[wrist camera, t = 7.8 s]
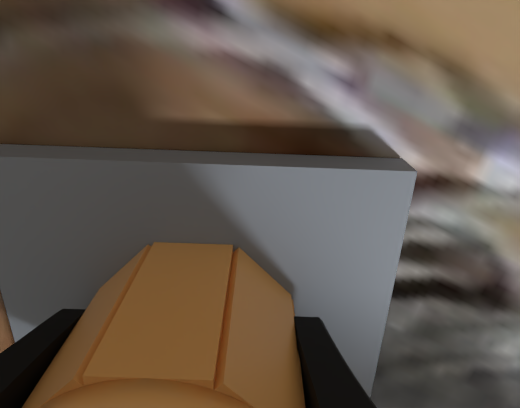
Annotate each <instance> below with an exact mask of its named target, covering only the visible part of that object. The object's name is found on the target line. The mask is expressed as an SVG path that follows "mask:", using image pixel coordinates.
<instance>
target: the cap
mask: <svg viewBox="0 0 520 408" xmlns="http://www.w3.org/2000/svg"><path fill="white" fill-rule="evenodd" d="M294 316H295V312H294V304H293V300H292V299H291V294H290V293H289V292H287V291H286V290H285V289H284V288H283V287H282V286H281V285H280V284H279V283H278V282H277V281H276V280H274V279H273V278H272V277H271V276H270V275H269V274H268V273H267V272H266V271H265V270H264V269H262V268H261V267H260V266H259V265H258V264H257V263H256V262H255V261H254V260H253V259H252V258H250V257H249V256H248V255H247V254H246V253H245V252H244V251H243V250H242V249H241V248H240V247H239V248H237V249H236V250H235V251H234V252H233V245H228V244H198V243H167V242H154V243H153V245H152V247H151V246H150V245H149V244H148V245H146V246H145V247H144V248H143V249H142V250H141V251H140V252H139V253H138V254H137V255H136V256H134V257H133V258H132V259H131V260H130V261H129V262H128V263H127V264H126V265H125V266H124V267H122V268H121V269H120V270H119V271H118V272H117V273H116V274H115V275H114V276H113V277H112V278H110V279H109V280H108V281H107V282H106V283H105V284H104V285H103V286H102V287H101V288H100V289H99V290H98V292H97V293H96V295H95V296H94V298H93V299H92V301H91V302H90V304H89V305H88V307H87V308H86V310H85V312H84V313H83V315H82V316H81V318H80V319H79V321H78V322H77V324H76V325H75V327H74V328H73V330H72V331H71V333H70V335H69V336H68V338H67V339H66V341H65V342H64V344H63V345H62V347H61V348H60V350H59V351H58V353H57V354H56V356H55V357H54V359H53V361H52V362H51V364H50V365H49V367H48V368H47V370H46V371H45V373H44V374H43V376H42V377H41V379H40V380H39V382H38V384H37V385H36V387H35V388H34V390H33V391H32V393H31V394H30V396H29V397H28V399H27V400H26V402H25V403H24V405H23V407H22V408H305V400H304V391H303V382H302V374H301V365H300V358H299V354H298V349H297V341H296V332H295V323H294Z"/></svg>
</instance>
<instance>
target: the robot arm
mask: <svg viewBox="0 0 520 408" xmlns="http://www.w3.org/2000/svg"><path fill="white" fill-rule="evenodd" d="M85 310H86V309H61V310H60V311H58V312H57V313H55V314H54V315H52V316H51V317H50V318H48V319H47V320H45V321H44V322H43V323H41V324H40V325H39V326H37V327H36V328H34V329H33V330H32V331H30V332H29V333H28V334H26V335H25V336H24V337H22V338H21V339H20V340H18V341H17V342H15V343H14V344H13V345H11V346H10V347H9V348H7V349H6V350H4V351H3V352H2V353H0V408H22V407H23V405H24V403H25V402H26V400H27V399H28V397H29V396H30V394H31V393H32V391H33V390H34V388H35V387H36V385H37V384H38V382H39V380H40V379H41V377H42V376H43V374H44V373H45V371H46V370H47V368H48V367H49V365H50V364H51V362H52V361H53V359H54V357H55V356H56V354H57V353H58V351H59V350H60V348H61V347H62V345H63V344H64V342H65V341H66V339H67V338H68V336H69V335H70V333H71V331H72V330H73V328H74V327H75V325H76V324H77V322H78V321H79V319H80V318H81V316H82V315H83V313H84V312H85ZM294 323H295V332H296V341H297V349H298V354H299V358H300V365H301V374H302V382H303V391H304V400H305V408H376V406H375V405H374V403H373V402H372V401H371V399H370V398H369V396H368V395H367V393H366V392H365V391H364V389H363V388H362V386H361V385H360V383H359V382H358V380H357V379H356V377H355V376H354V374H353V373H352V371H351V370H350V368H349V366H348V365H347V363H346V362H345V360H344V358H343V357H342V355H341V353H340V352H339V350H338V348H337V347H336V345H335V343H334V341H333V340H332V338H331V336H330V334H329V332H328V331H327V329H326V327H325V325H324V323H323V321H322V320H321V319H320V318H319V317H299V316H294Z"/></svg>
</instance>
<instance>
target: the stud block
mask: <svg viewBox="0 0 520 408" xmlns="http://www.w3.org/2000/svg"><path fill="white" fill-rule="evenodd" d="M416 175H417V171H416V170H415V169H414V168H413V167H411V166H410V165H409V164H408V163H407V162H406V161H405V160H403V159H402V158H375V157H347V156H319V155H292V154H264V153H236V152H209V151H181V150H154V149H126V148H98V147H71V146H43V145H15V144H0V290H1V294H2V297H3V301H4V305H5V308H6V312H7V315H8V319H9V322H10V326H11V330H12V333H13V337H14V340H15V342H17V341H18V340H20V339H21V338H22V337H24V336H25V335H26V334H28V333H29V332H30V331H32V330H33V329H34V328H36V327H37V326H39V325H40V324H41V323H43V322H44V321H45V320H47V319H48V318H50V317H51V316H52V315H54V314H55V313H57V312H58V311H60V310H61V309H86V308H87V307H88V305H89V304H90V302H91V301H92V299H93V298H94V296H95V295H96V293H97V292H98V290H99V289H100V288H101V287H102V286H103V285H104V284H105V283H106V282H107V281H108V280H109V279H110V278H112V277H113V276H114V275H115V274H116V273H117V272H118V271H119V270H120V269H121V268H122V267H124V266H125V265H126V264H127V263H128V262H129V261H130V260H131V259H132V258H133V257H134V256H136V255H137V254H138V253H139V252H140V251H141V250H142V249H143V248H144V247H145V246H146V245H148V244H149V245H150V246H151V247H152V245H153V243H154V242H167V243H198V244H228V245H233V252H234V251H235V250H236V249H237V248H239V247H240V248H241V249H242V250H243V251H244V252H245V253H246V254H247V255H248V256H249V257H250V258H252V259H253V260H254V261H255V262H256V263H257V264H258V265H259V266H260V267H261V268H262V269H264V270H265V271H266V272H267V273H268V274H269V275H270V276H271V277H272V278H273V279H274V280H276V281H277V282H278V283H279V284H280V285H281V286H282V287H283V288H284V289H285V290H286V291H287V292H289V293H290V294H291V299H292V300H293V304H294V312H295V316H299V317H319V318H320V319H321V320H322V321H323V323H324V325H325V327H326V329H327V331H328V332H329V334H330V336H331V338H332V340H333V341H334V343H335V345H336V347H337V348H338V350H339V352H340V353H341V355H342V357H343V358H344V360H345V362H346V363H347V365H348V366H349V368H350V370H351V371H352V373H353V374H354V376H355V377H356V379H357V380H358V382H359V383H360V385H361V386H362V388H363V389H364V391H365V392H366V393H367V395H368V396H369V398H370V397H371V393H372V388H373V383H374V378H375V373H376V368H377V364H378V359H379V354H380V349H381V344H382V339H383V335H384V330H385V325H386V320H387V315H388V311H389V306H390V301H391V296H392V291H393V286H394V282H395V277H396V272H397V267H398V262H399V257H400V253H401V248H402V243H403V238H404V233H405V228H406V224H407V219H408V214H409V209H410V204H411V199H412V195H413V190H414V185H415V180H416Z"/></svg>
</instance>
